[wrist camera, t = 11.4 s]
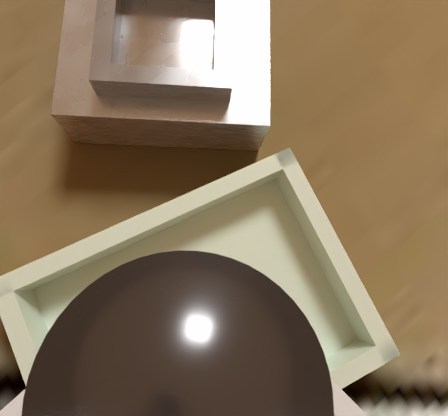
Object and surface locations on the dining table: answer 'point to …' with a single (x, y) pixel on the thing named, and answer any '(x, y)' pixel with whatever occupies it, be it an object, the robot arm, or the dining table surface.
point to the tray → (226, 246)
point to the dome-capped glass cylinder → (180, 345)
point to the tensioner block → (165, 73)
